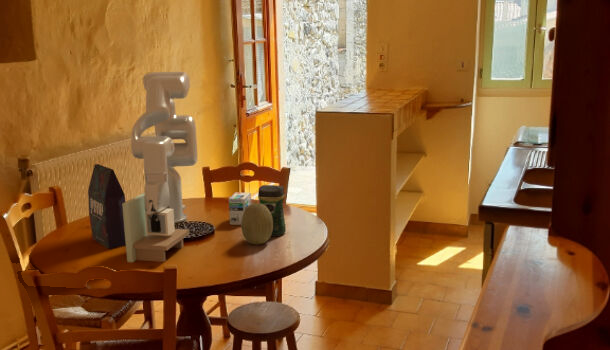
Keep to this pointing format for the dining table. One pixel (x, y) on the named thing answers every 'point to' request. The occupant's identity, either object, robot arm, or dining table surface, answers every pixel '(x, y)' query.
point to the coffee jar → (274, 206)
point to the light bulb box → (238, 206)
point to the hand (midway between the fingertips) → (160, 228)
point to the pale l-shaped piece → (139, 240)
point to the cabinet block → (162, 222)
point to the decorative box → (106, 207)
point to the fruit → (257, 223)
